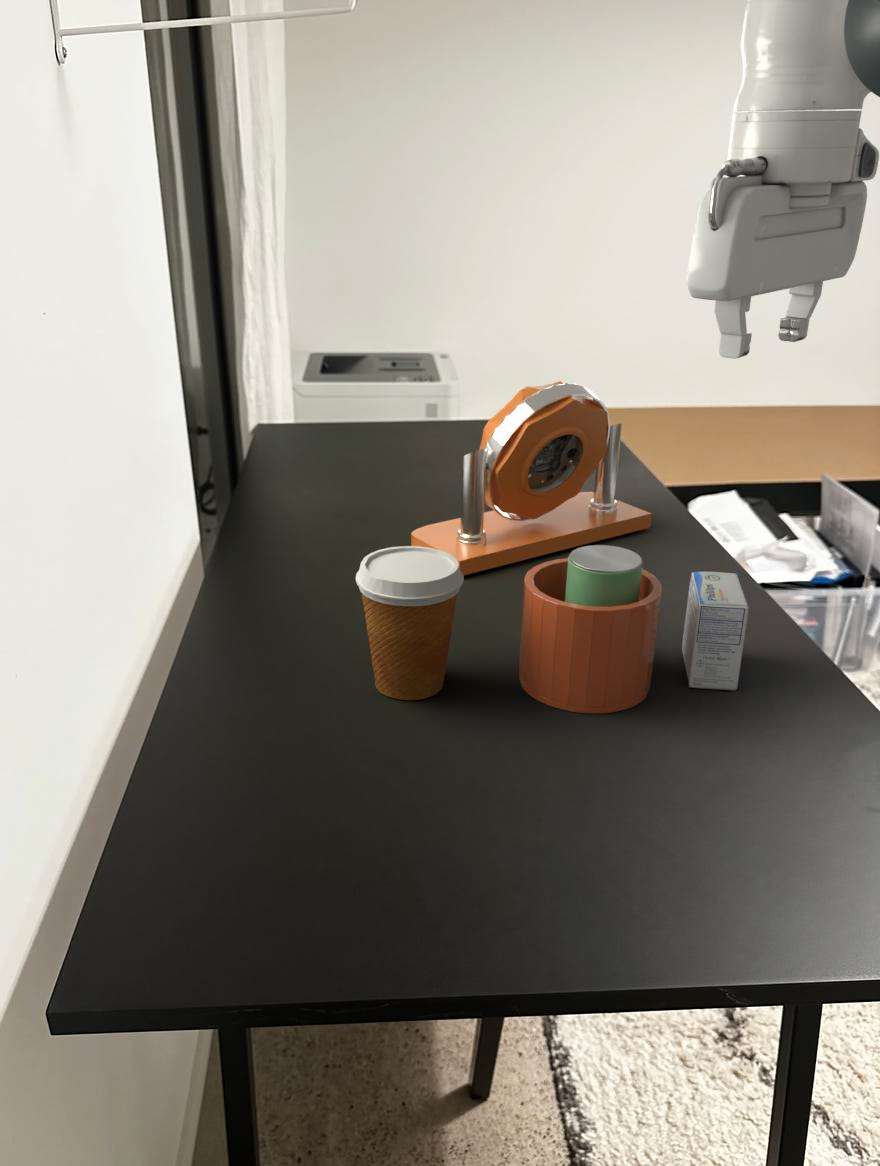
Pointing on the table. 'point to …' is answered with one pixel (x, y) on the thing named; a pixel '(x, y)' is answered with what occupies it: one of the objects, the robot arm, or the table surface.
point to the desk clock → (537, 482)
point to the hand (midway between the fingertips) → (763, 348)
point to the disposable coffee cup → (409, 617)
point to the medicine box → (714, 630)
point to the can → (603, 576)
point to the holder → (586, 644)
